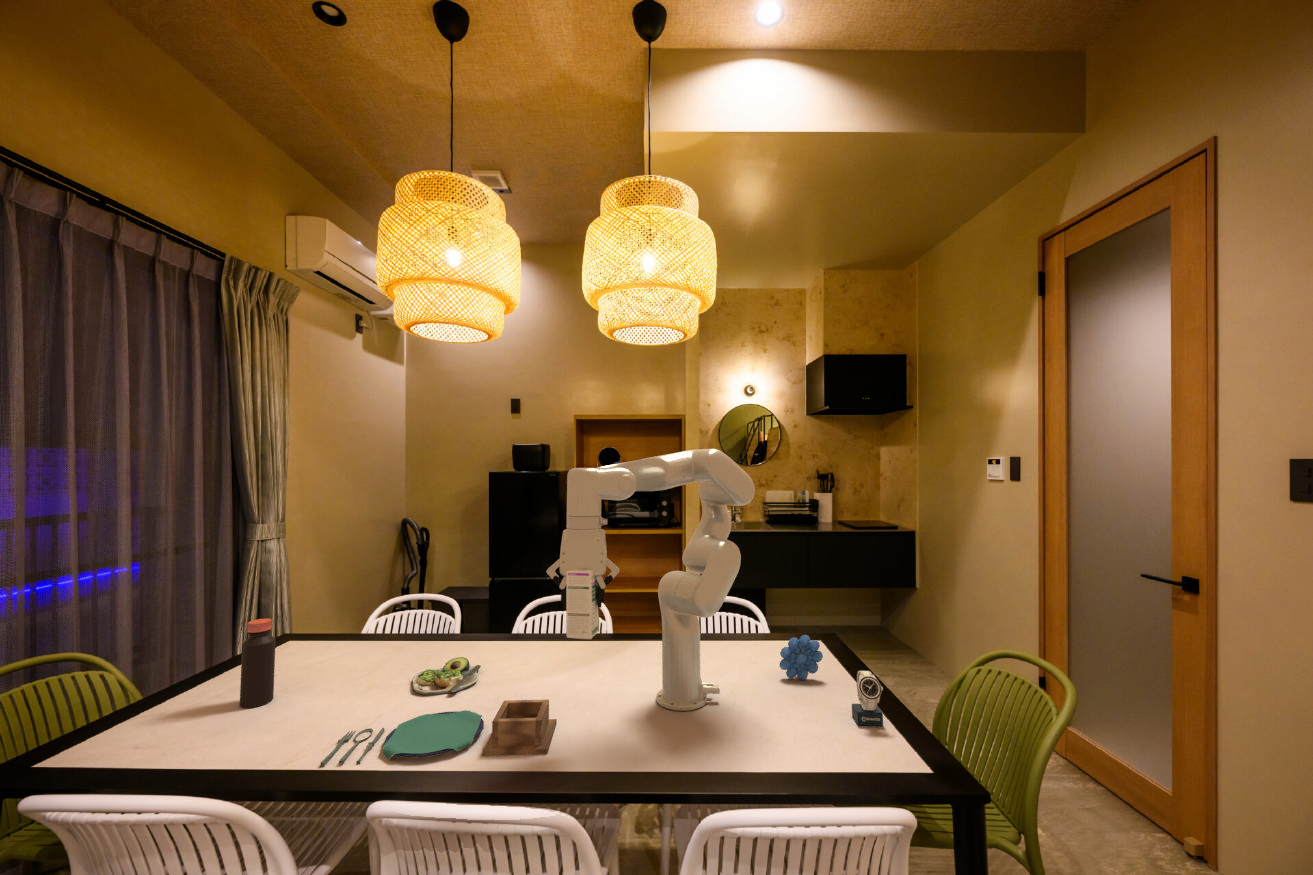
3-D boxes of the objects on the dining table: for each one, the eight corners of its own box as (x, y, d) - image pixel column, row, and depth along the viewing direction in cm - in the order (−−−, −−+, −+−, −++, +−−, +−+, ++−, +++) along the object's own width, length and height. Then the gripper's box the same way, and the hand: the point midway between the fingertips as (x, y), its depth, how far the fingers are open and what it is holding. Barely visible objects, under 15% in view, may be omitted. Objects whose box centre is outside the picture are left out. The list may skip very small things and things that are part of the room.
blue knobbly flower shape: (820, 674, 149) (819, 630, 150) (825, 683, 142) (824, 638, 143) (777, 672, 150) (777, 629, 151) (781, 682, 143) (780, 637, 144)
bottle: (276, 702, 133) (279, 620, 134) (242, 711, 128) (245, 626, 129) (269, 694, 138) (272, 615, 139) (236, 703, 133) (240, 621, 134)
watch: (860, 730, 117) (858, 679, 117) (850, 713, 125) (848, 665, 125) (886, 731, 116) (884, 679, 117) (874, 714, 124) (873, 666, 125)
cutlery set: (475, 759, 106) (475, 747, 106) (311, 776, 101) (312, 764, 102) (490, 715, 126) (490, 705, 126) (353, 728, 121) (354, 718, 121)
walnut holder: (556, 723, 121) (556, 696, 121) (547, 753, 108) (547, 723, 108) (498, 725, 120) (498, 697, 121) (482, 755, 107) (482, 725, 108)
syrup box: (591, 639, 112) (592, 570, 113) (565, 638, 113) (566, 569, 114) (599, 631, 118) (600, 565, 119) (573, 630, 119) (574, 564, 120)
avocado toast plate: (486, 693, 139) (486, 675, 139) (410, 705, 132) (411, 686, 132) (479, 667, 156) (480, 651, 157) (413, 677, 149) (413, 660, 150)
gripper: (623, 522, 122) (622, 601, 120) (546, 522, 121) (545, 602, 119) (623, 525, 114) (622, 610, 113) (541, 525, 113) (540, 611, 112)
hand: (582, 605), depth 116 cm, fingers closed on syrup box, 6 cm apart
